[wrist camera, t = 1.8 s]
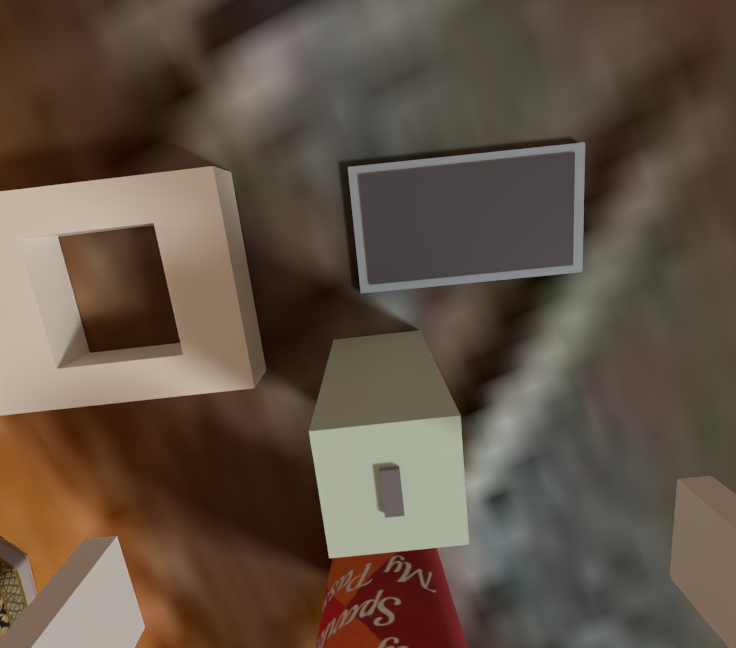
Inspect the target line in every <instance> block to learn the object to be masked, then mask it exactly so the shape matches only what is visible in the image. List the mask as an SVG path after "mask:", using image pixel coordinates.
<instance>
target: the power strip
mask: <svg viewBox="0 0 736 648" xmlns="http://www.w3.org/2000/svg"><path fill="white" fill-rule="evenodd" d="M153 225H154V227H155V232H156V236H157V241H158V245H159V250H160V254H161V259H162V263H163V267H164V272H165V276H166V281H167V285H168V290H169V294H170V299H171V303H172V308H173V312H174V316H175V321H176V325H177V330H178V334H179V339H180V343H174V344H165V345H156V346H147V347H138V348H129V349H120V350H111V351H102V352H93V353H90V351H89V347H88V344H87V340H86V337H85V333H84V329H83V326H82V322H81V319H80V315H79V311H78V308H77V304H76V301H75V297H74V293H73V290H72V286H71V283H70V279H69V275H68V272H67V268H66V265H65V261H64V257H63V254H62V250H61V247H60V243H59V239H58V237H59V236H68V235H76V234H85V233H93V232H102V231H110V230H119V229H127V228H136V227H145V226H153ZM265 371H266V365H265V360H264V354H263V349H262V343H261V337H260V332H259V326H258V321H257V315H256V309H255V304H254V298H253V292H252V287H251V281H250V276H249V270H248V264H247V259H246V253H245V248H244V242H243V236H242V231H241V225H240V220H239V214H238V208H237V203H236V197H235V191H234V186H233V180H232V175H231V172H229V171H226V170H223V169H220V168H217V167H214V166H209V167H201V168H192V169H184V170H176V171H167V172H159V173H151V174H142V175H134V176H125V177H117V178H109V179H100V180H92V181H84V182H75V183H67V184H59V185H50V186H42V187H34V188H25V189H17V190H9V191H0V416H2V415H11V414H20V413H30V412H39V411H48V410H57V409H66V408H76V407H85V406H94V405H103V404H113V403H122V402H131V401H140V400H150V399H159V398H168V397H177V396H187V395H196V394H205V393H214V392H223V391H233V390H242V389H251V388H255V387H256V385H257V384H258V382H259V381H260V379H261V378H262V376H263V375H264V373H265Z"/></svg>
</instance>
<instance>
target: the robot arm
mask: <svg viewBox="0 0 736 648" xmlns="http://www.w3.org/2000/svg"><path fill="white" fill-rule="evenodd" d="M670 578H671V579H672V580H673V581H674V583H675V584H676V585H677V586H678V587H679V589H680V590H681V591H682V592H683V593H684V595H685V596H686V597H687V598H688V599H689V601H690V602H691V603H692V604H693V605H694V607H695V608H696V609H697V610H698V611H699V613H700V614H701V615H702V616H703V617H704V619H705V620H706V621H707V622H708V623H709V625H710V626H711V627H712V628H713V629H714V631H715V632H716V633H717V634H718V635H719V637H720V638H721V639H722V640H723V641H724V642H725V644H726V645H727V646H728V647H729V648H736V494H734V493H733V492H732V491H730V490H729V489H728V488H726V487H725V486H724V485H722V484H721V483H720V482H719V481H717V480H716V479H715V478H713V477H712V476H704V477H694V478H684V479H677V490H676V503H675V516H674V529H673V542H672V555H671V568H670ZM144 629H145V626H144V622H143V619H142V616H141V613H140V609H139V606H138V603H137V600H136V596H135V593H134V590H133V586H132V583H131V580H130V577H129V573H128V570H127V567H126V564H125V560H124V557H123V554H122V551H121V547H120V544H119V541H118V538H117V536H111V537H101V538H91V539H85V540H84V541H83V542H82V544H81V545H80V546H79V547H78V548H77V549H76V551H75V552H74V553H73V554H72V555H71V556H70V558H69V559H68V560H67V561H66V562H65V563H64V565H63V566H62V567H61V568H60V569H59V570H58V572H57V573H56V574H55V575H54V576H53V577H52V579H51V580H50V581H49V582H48V583H47V584H46V586H45V587H44V588H43V589H42V590H41V591H40V593H39V594H38V595H37V596H36V597H35V598H34V600H33V601H32V602H31V603H30V604H29V605H28V607H27V608H26V609H25V610H24V611H23V612H22V614H21V615H20V616H19V617H18V618H17V619H16V621H15V622H14V623H13V624H12V625H11V626H10V628H9V629H8V630H7V631H6V632H5V633H4V635H3V636H2V637H1V638H0V648H135V646H136V644H137V642H138V640H139V638H140V636H141V634H142V632H143V631H144Z"/></svg>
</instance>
